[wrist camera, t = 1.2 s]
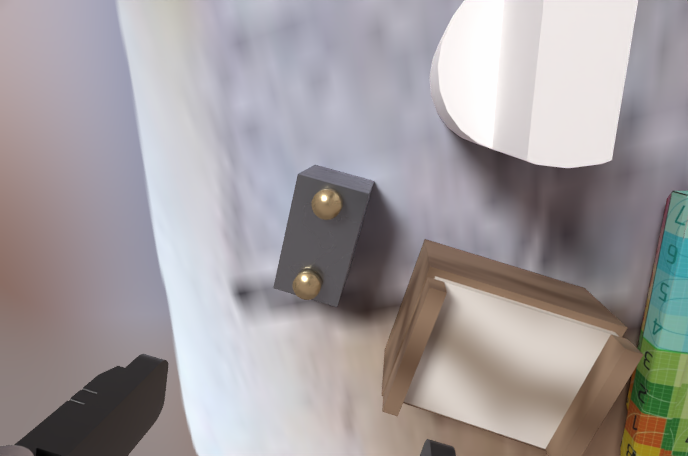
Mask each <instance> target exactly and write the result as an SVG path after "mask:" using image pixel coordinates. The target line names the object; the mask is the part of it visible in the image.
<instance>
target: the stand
mask: <svg viewBox="0 0 688 456" xmlns="http://www.w3.org/2000/svg"><path fill="white" fill-rule="evenodd" d="M626 329H627V327H626V326H625V325H624V324H623V323H622V322H621V321H620V320H619V319H617V318H616V317H615V316H614V315H613V314H612V313H611V312H610V311H609V310H608V309H607V308H606V307H605V306H603V305H602V304H601V303H600V302H599V301H598V300H597V299H596V298H595V297H594V296H593V295H592V294H591V293H589V292H588V291H587V290H586V289H585V288H582V287H579V286H576V285H573V284H569V283H566V282H563V281H560V280H556V279H553V278H550V277H547V276H543V275H540V274H537V273H534V272H530V271H527V270H524V269H521V268H517V267H514V266H511V265H508V264H504V263H501V262H498V261H495V260H491V259H488V258H485V257H482V256H478V255H475V254H472V253H468V252H465V251H462V250H459V249H455V248H452V247H449V246H446V245H442V244H439V243H436V242H433V241H429V240H426V239H425V240H424V243H423V245H422V248H421V251H420V254H419V257H418V259H417V262H416V265H415V268H414V270H413V273H412V276H411V279H410V281H409V284H408V287H407V290H406V292H405V295H404V298H403V301H402V303H401V306H400V309H399V312H398V314H397V317H396V320H395V323H394V326H393V328H392V331H391V334H390V337H389V339H388V342H387V345H386V348H385V354H384V368H383V382H382V396H383V408H382V411H383V412H386V413H389V414H392V415H395V416H398V414H399V412H400V409H401V407H402V404H403V403H405V404H408V405H411V406H414V407H417V408H420V409H423V410H426V411H429V412H432V413H435V414H438V415H441V416H444V417H447V418H450V419H453V420H456V421H459V422H462V423H465V424H468V425H471V426H474V427H477V428H480V429H483V430H486V431H489V432H492V433H495V434H498V435H501V436H504V437H507V438H510V439H513V440H516V441H519V442H522V443H525V444H528V445H531V446H534V447H537V448H540V449H543V450H546V452H547V454H548V456H582V454H583V453H584V451H585V449H586V448H587V446H588V445H589V443H590V441H591V440H592V438H593V436H594V435H595V433H596V431H597V430H598V428H599V427H600V425H601V423H602V422H603V420H604V418H605V417H606V415H607V414H608V412H609V410H610V409H611V407H612V405H613V404H614V402H615V401H616V399H617V397H618V396H619V394H620V392H621V391H622V389H623V388H624V386H625V384H626V383H627V381H628V379H629V378H630V376H631V375H632V373H633V371H634V370H635V368H636V366H637V365H638V363H639V362H640V360H641V358H642V357H643V354H642V353H641V352H640V351H639V350H638V349H637V348H636V347H635V346H634V345H633V344H632V343H631V342H630V341H629V340H628V339H625V338H622V336H623V335H624V333H625V331H626Z"/></svg>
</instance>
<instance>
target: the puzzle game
mask: <svg viewBox="0 0 688 456" xmlns="http://www.w3.org/2000/svg"><path fill="white" fill-rule="evenodd" d="M637 349H638V350H639V351H640V352H641V353H642V354H643V357H642V358H641V360H640V362H639V363H638V365H637V366H636V368H635V370H634V371H633V373H632V378H631V383H630V388H629V393H628V398H627V403H626V406H627V410H628V414H627V419H626V424H625V429H624V434H623V438H622V442H621V456H688V191H672V193H671V194H670V195H669V197H668V198H667V202H666V207H665V212H664V217H663V222H662V227H661V232H660V237H659V242H658V247H657V252H656V257H655V262H654V267H653V272H652V277H651V282H650V287H649V292H648V297H647V302H646V307H645V312H644V317H643V322H642V327H641V332H640V337H639V343H638V348H637Z"/></svg>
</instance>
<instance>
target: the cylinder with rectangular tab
mask: <svg viewBox="0 0 688 456" xmlns="http://www.w3.org/2000/svg"><path fill="white" fill-rule="evenodd" d="M637 4H638V0H464V2H463V3H462V4H461V6H460V7H459V9H458V10H457V11H456V13H455V14H454V15H453V17H452V19H451V21H450V23H449V24H448V26H447V28H446V30H445V32H444V34H443V36H442V38H441V40H440V43H439V45H438V47H437V50H436V52H435V55H434V57H433V60H432V66H431V72H430V88H431V97H432V100H433V103H434V105H435V108H436V111H437V113H438V115H439V116H440V117H441V119H442V120H443V122H444V123H445V124H446V126H447V127H448V128H449V129H451V130H452V131H453V132H454V133H456V134H457V135H458V136H460V137H461V138H463V139H466V140H468V141H471V142H473V143H475V144H478V145H481V146H484V147H487V148H490V149H493V150H495V151H498V152H501V153H504V154H507V155H510V156H513V157H516V158H519V159H521V160H524V161H527V162H530V163H533V164H536V165H544V166H553V167H561V168H574V167H582V166H590V165H597V164H603V163H605V162H608V161H611V160H612V156H613V150H614V144H615V138H616V132H617V126H618V119H619V113H620V107H621V101H622V95H623V89H624V83H625V77H626V71H627V65H628V60H629V52H630V46H631V40H632V34H633V28H634V22H635V16H636V10H637Z"/></svg>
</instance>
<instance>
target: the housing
mask: <svg viewBox="0 0 688 456" xmlns="http://www.w3.org/2000/svg"><path fill="white" fill-rule="evenodd" d="M373 184H374V181H372V180H368V179H365V178H361V177H358V176H354V175H350V174H347V173H343V172H340V171H336V170H332V169H329V168H325V167H322V166H318V165H314V166H312V167H310V168H308V169H306V170H305V171H303V172H301V173H299V174H298V176H297V181H296V186H295V190H294V195H293V199H292V204H291V209H290V213H289V218H288V223H287V227H286V232H285V237H284V241H283V246H282V251H281V255H280V260H279V264H278V269H277V274H276V278H275V283H274V288H275V289H278V290H282V291H285V292H288V293H291V294H295V295H297V296H298V297H300V298H301V299H305V300H310V299H311V300H315V301H318V302H321V303H325V304H328V305H331V306H334V307H337V306H338V303H339V300H340V297H341V295H342V292H343V289H344V286H345V283H346V280H347V277H348V273H349V270H350V266H351V262H352V259H353V255H354V252H355V248H356V245H357V241H358V237H359V234H360V230H361V227H362V223H363V220H364V216H365V212H366V209H367V205H368V202H369V198H370V195H371V191H372V187H373Z"/></svg>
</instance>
